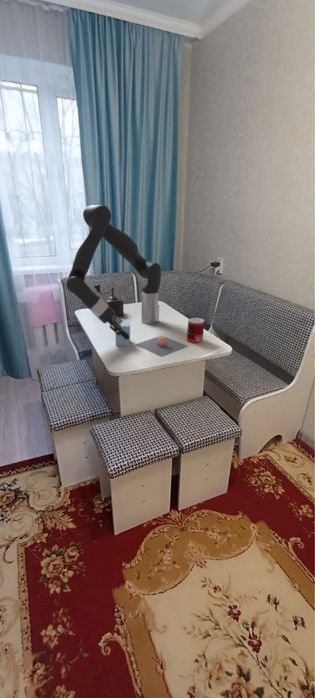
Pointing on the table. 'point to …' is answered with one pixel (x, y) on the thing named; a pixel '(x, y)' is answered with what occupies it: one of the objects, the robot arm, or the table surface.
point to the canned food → (195, 330)
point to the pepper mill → (112, 301)
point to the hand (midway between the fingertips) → (128, 335)
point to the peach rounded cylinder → (161, 341)
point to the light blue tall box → (119, 338)
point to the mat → (161, 351)
